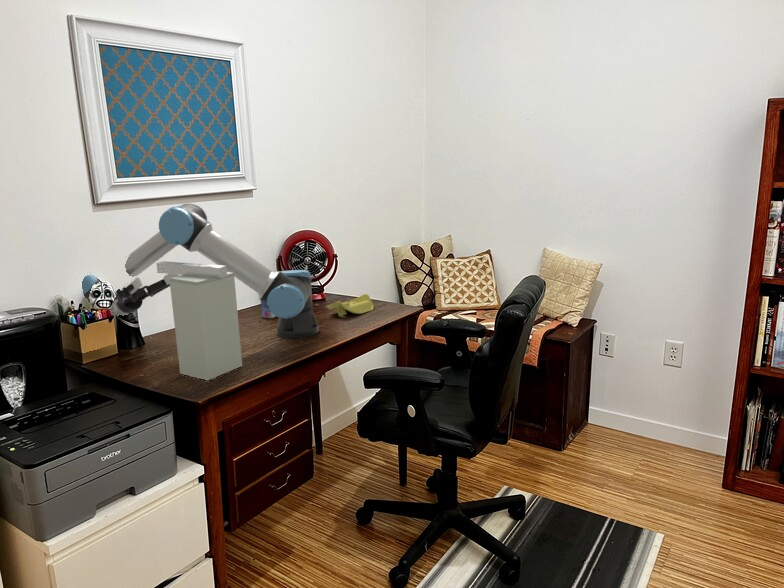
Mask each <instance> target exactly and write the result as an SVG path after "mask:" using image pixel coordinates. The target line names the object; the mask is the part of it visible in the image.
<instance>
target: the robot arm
mask: <svg viewBox="0 0 784 588" xmlns="http://www.w3.org/2000/svg"><path fill="white" fill-rule="evenodd" d="M158 229H159V231H158V232H156V233H155V234H154V235H153V236H152V237H150V238H149V239H148V240H146V241H145V242H143V243H142V244H141V245H140V246H139V247H137V248H136V249H134V250H133V251H132V252H131V253H129V254H130V255H129V254H128V255H129V257H128V259H127V261H126V264H125V268H126V272H127V273H128V274H129V276H132V277H134V276H136V277H135V278H134V279H133V281H130V282H129V283H128V284H127V286H124V287H123V288H122V289H121V290H120V289H118V290H117V291H116V292H115V296H114V301H113V305H114V312H115V315H117V316H119V315H122V316H124V315H128V314H129V313H132V314H133V313H135V312H136V311H137V310H139V309H140V308H141V307H142V305H143V301H144V300H145V299H146V298H148V297H150V298H152V297H154V296H156V294H159V293H160V292H162V291H164V290H166V289H168V288H170V281H169V278H172V277H176V276H180V275H178V274H165V275H164V277H163V278H162V279H160V280H158V281H156V282H154V283H152V284H150V285H143V283H142V280H141V279H140V277H138V276H139V275H141V274H142V273H143V272H144V271H146V270H147V269H149V268H150V267H151V266H152V265H154V264H156V263H157V261H159V260H160V259H162V258H163V257H164V256H165V255H167V254H168V253H170V252H171V251H173V250H174V249H175V248H176V247H178V246H181V247H182V248H183V249H185V250H187V251H188V252H190V253H193V252H197V253H199V254H201V255H202V256H203V257H205V258H206V259H208V260H210V261H211V262H212V263H214V265H223V266H226V267H227V272H232V273H234V278H236V279H237V280H239V281H240V282H242V283H243V284H245V285H246V286H247V287H248V288H250V289H252V291H253V290H254V291H255V292H256V293H257V295H258V299H259V300H260V302H261V301H263V302H264V303H265V304H267V305H268V307H269V310H270V311H271V312H272V313H273V314H274V315H275V316H276V317H277V318H278V320H277V326H276V335H277V336H278V337H281V338H284V339H304V338H310V337H312V336H315V335H316V334H318V333H319V331H320V329H319V323H318V321H317V318H316V315H315V313H314V310H313V295H312V294H313V293H312V292H313V291H312V277H311V272H310V271H309V270H304V269H294V270H293V269H291V270H290V269H289V270H281V271H273V270H271V269H269V268H268V267H266V265H263V264H262V263H261V262H259V261H258V260H256V259H255V258H253V257H252V256H250V255H249V254H248V253H246V252H245V251H244V250H242V249H240V248H239V247H238V246H236V245H235V244H233V243H232V242H230V241H229V240H228V239H226V238H225V237H224V236H222V235H220V234H219V233H217V232H216V231H214V230H213V225H212V223H211V222H210V221H208V216H207V214H206V212H205V210H204V209H203V208H202V207H200V206H199V205H197V204H194V203H188V202H187V203H184V204H181V205H176V206H172V207H170V208H168V209H167V210H165V211H164V212H163V213H162V214H161V215H160V217H159V221H158ZM137 275H138V276H137ZM84 276H85V275H84ZM97 277H98V276H97ZM97 277H95V276H94V275H92V274H90V275H87V276H85V277H84V279H83V281H82V289H83V294H84V296H85V298H87V299H88V297H89V293H90V291H91V288H92V286H93V285H94V284H97V283H99V282H101V281H100V280H99V279H98V278H97ZM145 289H146V290H145Z"/></svg>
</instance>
